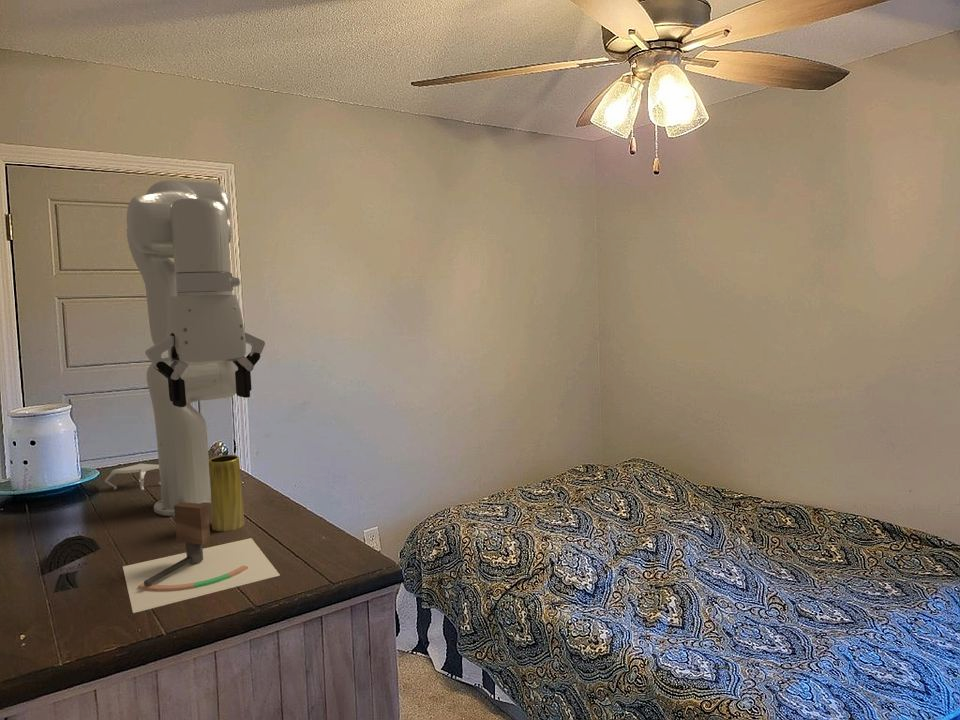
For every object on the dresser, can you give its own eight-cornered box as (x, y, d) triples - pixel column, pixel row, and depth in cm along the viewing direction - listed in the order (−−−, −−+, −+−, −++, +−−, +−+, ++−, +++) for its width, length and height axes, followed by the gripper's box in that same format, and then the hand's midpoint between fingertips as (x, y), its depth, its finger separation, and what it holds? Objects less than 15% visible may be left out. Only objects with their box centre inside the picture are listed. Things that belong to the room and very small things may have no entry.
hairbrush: (27, 603, 90) (46, 535, 112) (30, 628, 91) (48, 555, 113) (96, 589, 94) (101, 526, 116) (99, 613, 95) (103, 546, 116)
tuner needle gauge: (187, 555, 107) (183, 501, 106) (213, 558, 105) (209, 503, 104) (133, 586, 96) (127, 526, 95) (160, 590, 95) (155, 529, 94)
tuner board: (123, 575, 104) (122, 564, 104) (251, 546, 115) (251, 535, 115) (134, 623, 89) (132, 610, 89) (280, 584, 100) (280, 572, 99)
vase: (209, 541, 117) (203, 464, 116) (213, 529, 123) (208, 455, 122) (245, 537, 119) (239, 461, 117) (247, 525, 125) (242, 452, 123)
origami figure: (159, 478, 158) (158, 458, 157) (167, 486, 151) (166, 465, 151) (103, 488, 151) (101, 468, 150) (109, 497, 144) (107, 476, 143)
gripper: (247, 285, 104) (254, 391, 106) (131, 287, 91) (141, 407, 93) (271, 284, 99) (278, 395, 101) (151, 286, 86) (162, 413, 88)
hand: (212, 401), depth 97 cm, fingers open, 9 cm apart
